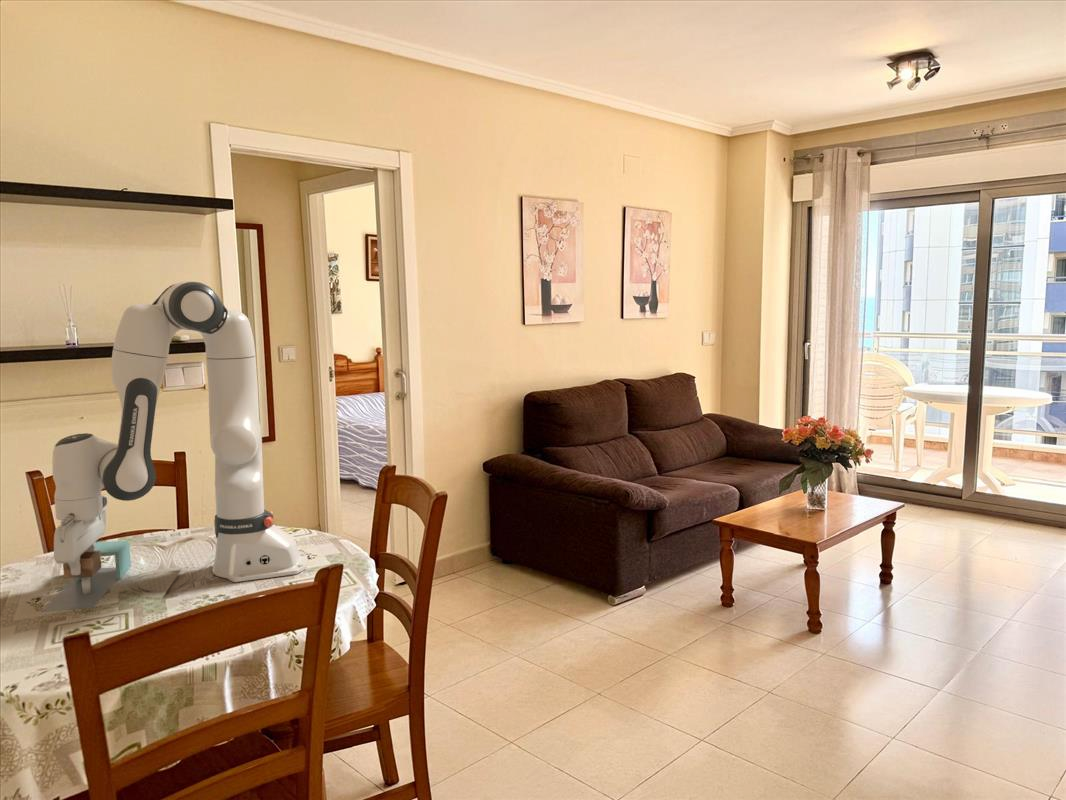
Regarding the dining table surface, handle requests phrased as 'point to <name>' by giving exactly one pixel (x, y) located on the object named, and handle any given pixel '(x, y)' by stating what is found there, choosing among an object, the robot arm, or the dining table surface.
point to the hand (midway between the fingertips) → (82, 568)
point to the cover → (121, 555)
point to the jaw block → (85, 565)
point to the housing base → (76, 592)
